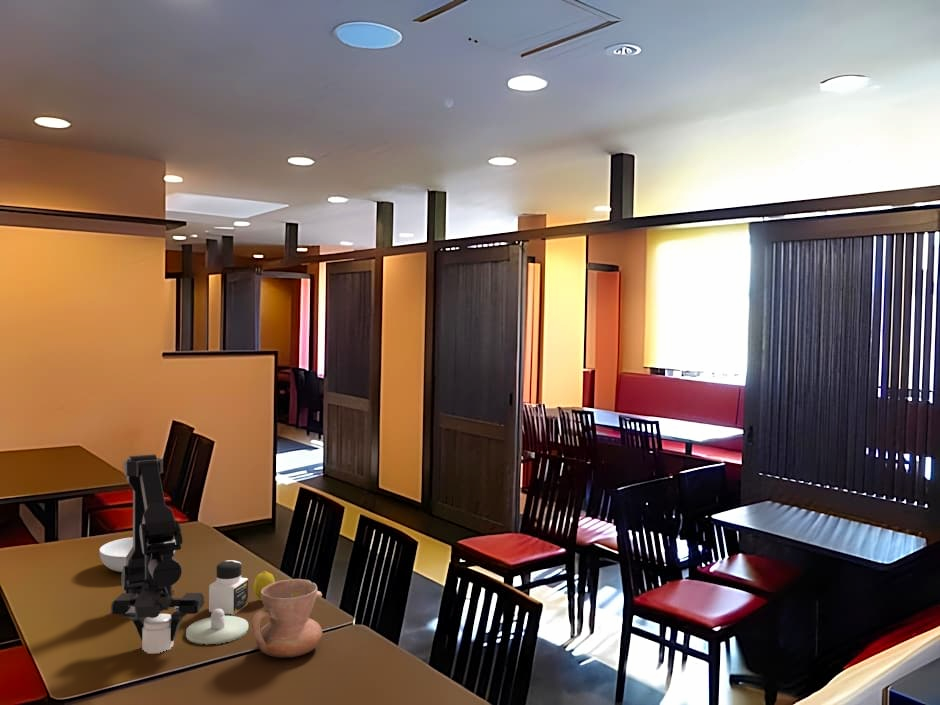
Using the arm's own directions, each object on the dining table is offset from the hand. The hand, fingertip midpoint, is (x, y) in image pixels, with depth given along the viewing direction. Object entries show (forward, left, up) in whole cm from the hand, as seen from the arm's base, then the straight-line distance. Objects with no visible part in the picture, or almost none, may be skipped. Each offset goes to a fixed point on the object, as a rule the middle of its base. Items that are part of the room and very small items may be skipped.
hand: (158, 640), depth 162 cm
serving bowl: (-24, +53, -2) cm, 58 cm away
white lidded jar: (0, 0, -2) cm, 2 cm away
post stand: (+11, +8, -2) cm, 14 cm away
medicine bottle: (+10, +22, -2) cm, 24 cm away
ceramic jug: (+29, -2, -2) cm, 29 cm away
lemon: (+18, +27, -2) cm, 32 cm away
